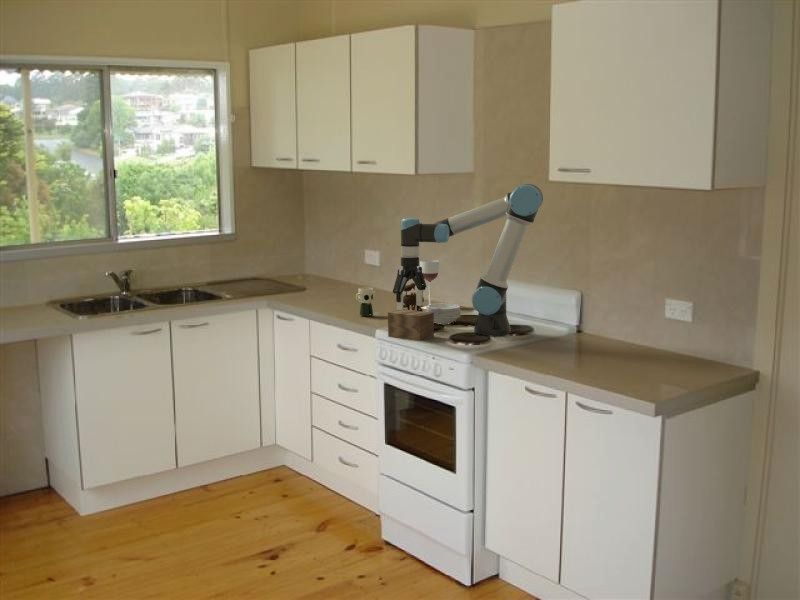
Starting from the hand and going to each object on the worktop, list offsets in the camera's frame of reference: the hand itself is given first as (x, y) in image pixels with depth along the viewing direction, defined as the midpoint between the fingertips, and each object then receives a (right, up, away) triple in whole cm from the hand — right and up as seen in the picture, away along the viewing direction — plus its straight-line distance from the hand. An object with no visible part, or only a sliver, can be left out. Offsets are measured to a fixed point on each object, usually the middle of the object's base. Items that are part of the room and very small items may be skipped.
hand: (409, 307), depth 378 cm
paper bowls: (+15, -7, +31) cm, 36 cm away
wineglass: (+11, -1, +73) cm, 74 cm away
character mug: (-20, -5, +51) cm, 55 cm away
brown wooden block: (+1, -12, +2) cm, 12 cm away
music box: (+2, -9, +22) cm, 24 cm away
